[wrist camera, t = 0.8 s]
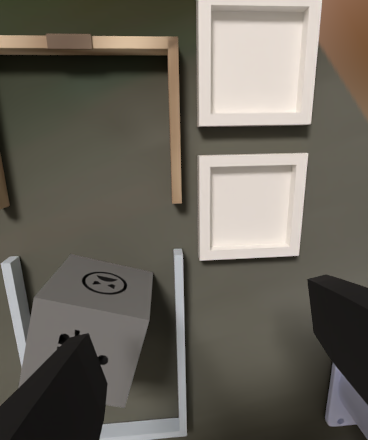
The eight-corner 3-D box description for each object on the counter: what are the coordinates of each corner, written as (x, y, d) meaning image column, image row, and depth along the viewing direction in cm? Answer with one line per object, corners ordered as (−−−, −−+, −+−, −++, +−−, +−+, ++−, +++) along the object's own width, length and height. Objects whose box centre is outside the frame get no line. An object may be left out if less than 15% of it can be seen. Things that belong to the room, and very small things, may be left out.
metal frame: (181, 248, 17) (182, 254, 16) (185, 422, 20) (187, 436, 19) (10, 256, 16) (0, 263, 15) (44, 435, 20) (38, 450, 19)
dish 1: (314, 0, 14) (322, -8, 13) (303, 125, 16) (310, 124, 15) (196, -2, 14) (198, -11, 13) (197, 127, 15) (199, 126, 14)
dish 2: (301, 153, 16) (308, 153, 15) (292, 250, 18) (298, 255, 17) (197, 155, 16) (199, 155, 15) (198, 255, 17) (199, 260, 16)
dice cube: (71, 253, 17) (33, 297, 12) (153, 271, 17) (149, 320, 12) (57, 325, 18) (17, 391, 13) (134, 339, 18) (124, 407, 14)
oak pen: (176, 43, 14) (178, 34, 13) (180, 199, 16) (181, 203, 15) (-31, 42, 13) (-48, 33, 12) (0, 206, 15) (-12, 210, 14)
